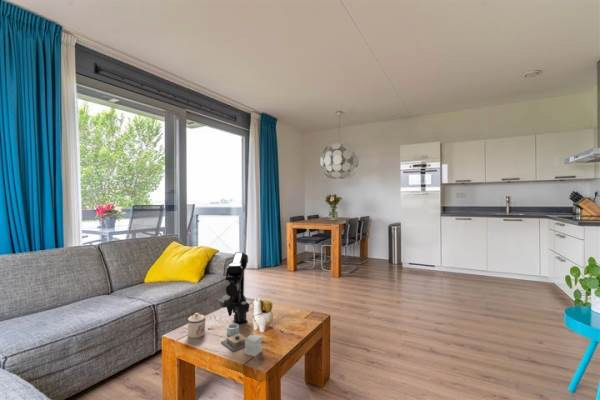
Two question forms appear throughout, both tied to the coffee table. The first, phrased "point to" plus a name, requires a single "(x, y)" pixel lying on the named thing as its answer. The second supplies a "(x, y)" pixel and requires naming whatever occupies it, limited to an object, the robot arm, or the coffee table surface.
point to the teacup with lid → (196, 326)
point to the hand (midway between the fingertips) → (234, 318)
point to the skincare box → (253, 345)
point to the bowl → (232, 329)
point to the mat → (232, 346)
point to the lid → (236, 340)
